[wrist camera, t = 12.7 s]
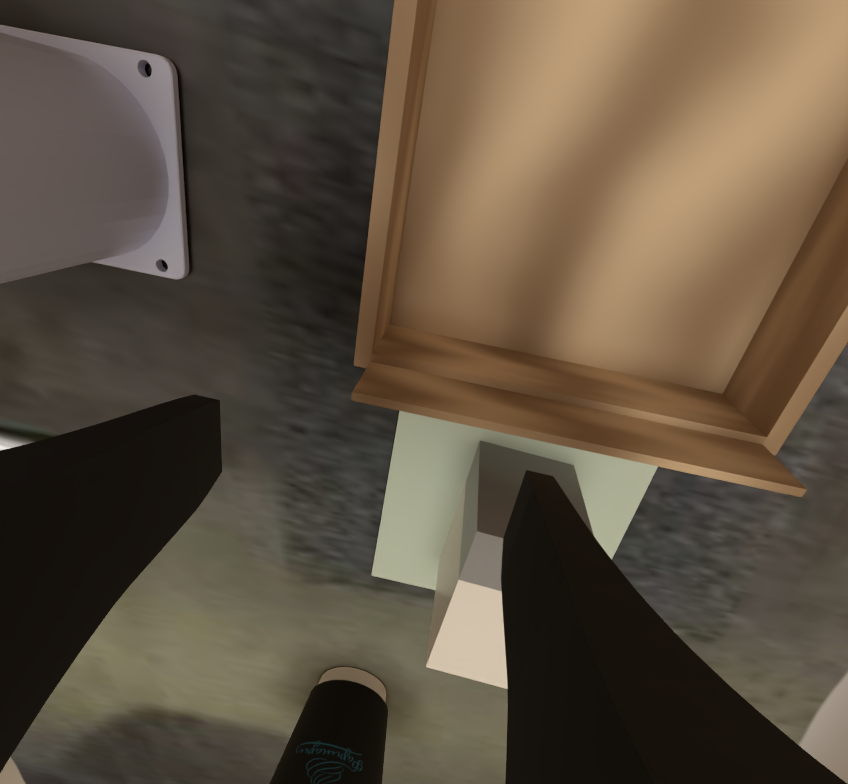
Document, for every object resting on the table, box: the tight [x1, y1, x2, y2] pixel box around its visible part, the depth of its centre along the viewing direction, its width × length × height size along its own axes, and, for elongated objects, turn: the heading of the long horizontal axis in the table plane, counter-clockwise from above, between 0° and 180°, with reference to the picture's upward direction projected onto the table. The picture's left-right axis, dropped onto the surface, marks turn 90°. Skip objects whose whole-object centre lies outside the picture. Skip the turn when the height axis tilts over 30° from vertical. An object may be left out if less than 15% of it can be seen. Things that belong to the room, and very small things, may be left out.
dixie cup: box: [270, 667, 388, 784], centre depth 27 cm, size 8×8×11 cm
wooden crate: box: [351, 0, 848, 497], centre depth 12 cm, size 15×21×6 cm
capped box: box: [426, 440, 593, 689], centre depth 21 cm, size 4×8×6 cm, turn 167°
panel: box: [372, 411, 658, 590], centre depth 24 cm, size 12×12×1 cm
